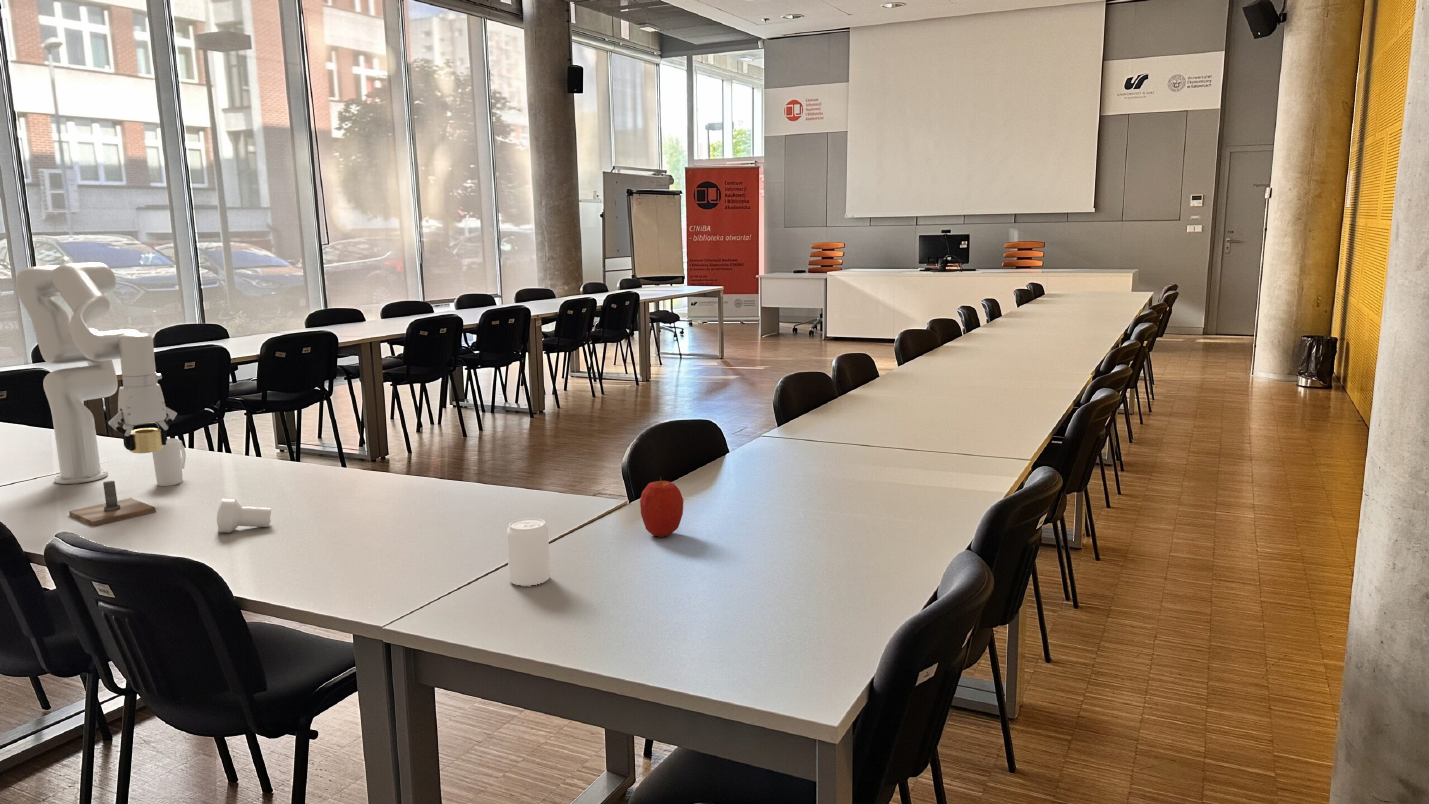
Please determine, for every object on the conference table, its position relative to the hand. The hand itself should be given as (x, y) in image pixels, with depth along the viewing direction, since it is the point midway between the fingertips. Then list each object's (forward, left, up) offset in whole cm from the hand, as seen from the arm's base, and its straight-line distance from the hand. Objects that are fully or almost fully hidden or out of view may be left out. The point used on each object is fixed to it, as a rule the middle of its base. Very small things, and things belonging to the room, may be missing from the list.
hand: (146, 446), depth 244 cm
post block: (+9, -13, -14) cm, 21 cm away
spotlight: (+48, 0, -14) cm, 50 cm away
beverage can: (+127, +17, -14) cm, 129 cm away
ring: (0, 0, -1) cm, 1 cm away
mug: (-10, +10, -14) cm, 20 cm away
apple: (+131, +54, -14) cm, 142 cm away
